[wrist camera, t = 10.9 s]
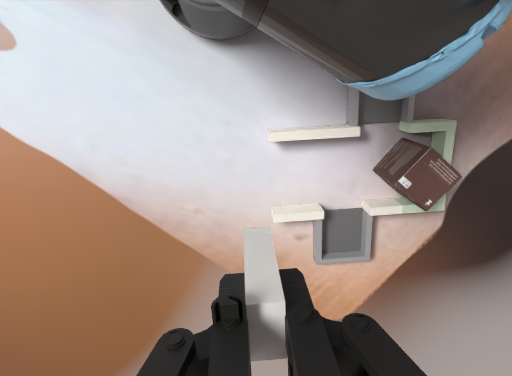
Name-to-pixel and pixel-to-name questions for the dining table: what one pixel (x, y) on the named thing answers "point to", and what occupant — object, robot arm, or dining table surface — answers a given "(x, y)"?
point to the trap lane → (360, 219)
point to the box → (417, 173)
